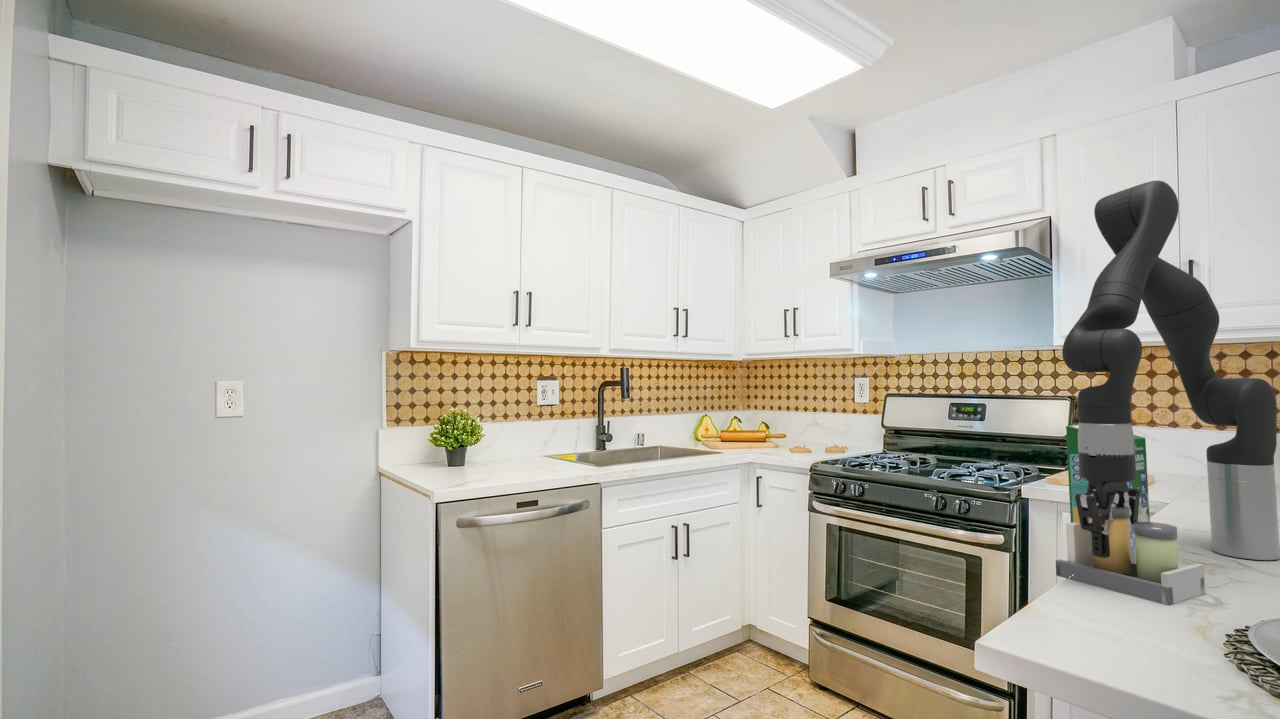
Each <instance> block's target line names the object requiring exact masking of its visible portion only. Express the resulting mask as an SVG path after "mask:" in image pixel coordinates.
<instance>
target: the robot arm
mask: <svg viewBox="0 0 1280 719" xmlns="http://www.w3.org/2000/svg"><path fill="white" fill-rule="evenodd" d="M1093 215H1094V219H1095V222H1096V225H1097V228H1098V230H1099V232H1100V234H1101V236H1102V237H1103V239H1104V240H1105V241H1106V243H1107V245H1108V246H1109V248H1110V249H1111V251H1112V252H1113V254H1114V257H1113V258H1112V259H1111V260H1110V262H1108V263H1107V264H1106V266H1105V267H1104V268H1103V269H1102V271H1101V272H1100V273H1099V275H1098V276H1097V278H1096V279H1095V282H1094V284H1093V286H1092V290H1091V294H1090V295H1089V296H1090V297H1089V301H1088V304H1087V308H1086V309H1085V310H1084V312H1083V313H1082V314H1081V316H1080V317H1079V319H1078V320H1077V322H1076V323H1075V324H1074V325H1073V327H1072V329H1071V330H1070V331H1069V333H1068V334H1067V336H1066V337H1065V339H1064V342H1063V346H1062V353H1061V356H1062V360H1063V362H1064V364H1065V366H1066V367H1068V368H1069V369H1070V370H1072V371H1073V372H1076V373H1082V374H1083V373H1086V374H1087V373H1088V374H1089V373H1109V376H1108V378H1107V379H1106V381H1105V382H1104V383H1102V384H1099V385H1095V386H1090V387H1085V388H1083V389H1082V388H1081V389H1080V390H1079V392H1078V394H1077V412H1078V413H1077V414H1078V415H1077V416H1078V425H1079V429H1078V454H1079V474H1080V476H1081V477H1082V478H1084V479H1087V480H1088V482H1089V483H1088V488H1087V493H1086V494H1084V495H1083V494H1076V496H1075V499H1076V504H1077V509H1078V514H1079V519H1080V524H1081V528H1082V529H1084V530H1088V531H1089V532H1091V535H1092V553H1093V555H1094V556H1097V557H1102V558H1107V557H1109V556H1110V552H1109V535H1107V534H1108V530H1109V524H1110V522H1111V521H1113V520H1114V516H1113V509H1116V507H1129V512H1130V515H1131V517H1129V529H1130V530H1131V528H1132V525H1134V524H1133V523H1135V522H1138V512H1139V500H1140V490H1139V489H1133V488H1128V485H1127V482H1131V481H1134V480H1136V460H1135V441H1134V435H1135V433H1134V429H1133V424H1132V407H1131V406H1132V405H1131V404H1132V403H1131V399H1132V394H1133V393H1132V392H1133V387H1134V383H1135V378H1136V376H1137V372H1138V369H1139V366H1140V363H1141V359H1142V354H1143V345H1142V341H1141V339H1140V337H1139V335H1137V334H1136V333H1135V332H1134V331H1133V330H1131V329H1127V328H1128V327H1131V326H1132V325H1134V323H1135V322H1136V320H1137V317H1138V314H1139V309H1140V305H1141V303H1143V305H1144V307H1145V310H1146V312H1147V314H1148V315H1149V317H1150V319H1151V320H1152V323H1153V325H1154V327H1155V328H1156V330H1157V332H1158V333H1159V335H1160V336H1161V338H1162V341H1163V343H1164V345H1165V347H1166V348H1167V350H1168V353H1169V355H1170V357H1171V359H1172V361H1173V363H1174V365H1175V367H1176V369H1177V372H1178V375H1179V377H1180V380H1181V383H1182V385H1183V388H1184V391H1185V393H1186V396H1187V399H1188V401H1189V404H1190V407H1191V409H1192V410H1193V412H1194V413H1195V415H1196V417H1197V418H1198V419H1199V420H1200V421H1202V422H1203V423H1205V424H1206V425H1207V424H1208V425H1212V426H1221V427H1236V430H1235V431H1236V432H1235V435H1234V437H1232V438H1231V439H1229V440H1227V441H1224V442H1220V443H1217V444H1212V445H1209V446H1208V447H1207V448H1206V468H1207V485H1208V498H1209V499H1208V502H1209V516H1210V517H1209V518H1210V519H1209V520H1210V521H1209V522H1210V534H1211V535H1210V537H1211V538H1210V539H1211V550H1212V551H1213V552H1215V553H1218V554H1220V555H1224V556H1229V557H1233V558H1240V559H1244V560H1245V559H1247V560H1259V561H1276V560H1280V535H1279V533H1280V531H1279V520H1278V519H1279V518H1278V502H1277V485H1276V472H1275V470H1276V469H1275V455H1276V449H1277V445H1278V444H1277V442H1278V441H1277V437H1278V435H1277V432H1278V431H1277V429H1278V428H1277V426H1278V425H1277V422H1278V421H1277V420H1278V404H1277V396H1276V393H1275V390H1274V388H1273V387H1272V385H1271V384H1270V382H1268V381H1267V380H1264V379H1262V378H1256V377H1254V378H1252V377H1250V378H1249V377H1232V378H1231V377H1228V378H1227V377H1225V378H1224V377H1223V378H1222V377H1220V376H1219V375H1218V374H1217V373H1216V371H1215V370H1214V367H1213V364H1212V363H1211V362H1212V361H1211V358H1210V353H1211V349H1212V345H1213V344H1214V340H1215V338H1216V336H1217V333H1218V330H1219V325H1220V314H1219V311H1218V308H1217V307H1216V305H1215V302H1214V301H1213V299H1212V297H1211V295H1210V293H1209V291H1208V290H1207V288H1206V287H1205V285H1204V284H1203V283H1202V282H1201V281H1200V280H1199V279H1198V278H1196V277H1195V276H1193V275H1191V274H1189V273H1188V272H1186V271H1185V270H1182V269H1181V268H1179V267H1177V266H1175V265H1173V264H1171V263H1170V262H1167V260H1164V259H1162V258H1161V257H1159V256H1160V254H1161V252H1162V250H1163V248H1164V246H1165V245H1166V243H1167V241H1168V239H1169V236H1170V235H1171V232H1172V231H1173V229H1174V226H1175V224H1176V223H1177V218H1178V215H1179V200H1178V197H1177V194H1176V192H1175V191H1174V188H1172V186H1170V185H1169V184H1168V183H1167V182H1165V181H1163V180H1151V181H1147V182H1143V183H1141V184H1137V185H1135V186H1132V187H1129V188H1125V189H1123V190H1120V191H1117V192H1114V193H1111V194H1109V195H1106V196H1104V197H1101V198H1100V199H1098V200H1097V202H1096V203H1095V205H1094V214H1093ZM1128 501H1130V502H1128ZM1098 509H1102V510H1105V509H1107V513H1106V514H1099V513H1098ZM1087 517H1089V523H1088V521H1087ZM1100 519H1102V526H1101V523H1100Z"/></svg>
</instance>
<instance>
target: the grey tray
mask: <svg viewBox="0 0 1280 719" xmlns="http://www.w3.org/2000/svg"><path fill="white" fill-rule="evenodd" d="M1204 567H1205V566H1204V564H1201V563H1194V564H1190V565H1186V566H1182V567H1178V569H1175V570H1171V571H1167V572H1164V573H1161V584H1160V583H1156V582H1152V581H1147V580H1143V579H1139V578H1137V567H1136V562H1132V561H1131V573H1126V574H1119V573H1114V572H1110V571H1106V570H1102V569H1098V568H1094V567H1089V566H1085V565H1081V564H1077V563H1073V562H1069V561H1068V560H1064V559H1056V560H1055V575H1056V577H1060V578H1064V579H1067V580H1072V581H1076V582H1079V583H1082V584H1086V585H1089V586H1093V587H1098V588H1102V589H1106V590H1107V591H1108V590H1109V591H1113V592H1115V593H1116V592H1117V593H1121V594H1124V595H1128V596H1132V597H1135V598H1138V599H1143V600H1147V601H1151V602H1153V603H1158V604H1160V605H1161V604H1162V605H1165V606H1173V605H1175V604H1178V603H1179V604H1180V603H1181V602H1185V601H1189V600H1192V599H1195V598H1198V597H1201V596H1204V595H1206V586H1205V584H1206V583H1205V568H1204ZM1073 574H1074V575H1073ZM1072 575H1073V576H1072ZM1070 576H1071V577H1070ZM1069 577H1070V578H1069ZM1068 578H1069V579H1068Z"/></svg>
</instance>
